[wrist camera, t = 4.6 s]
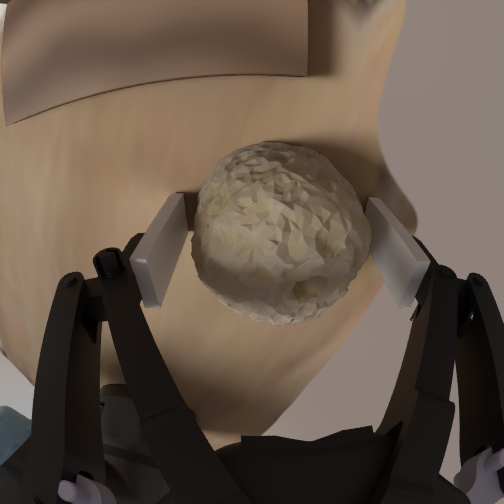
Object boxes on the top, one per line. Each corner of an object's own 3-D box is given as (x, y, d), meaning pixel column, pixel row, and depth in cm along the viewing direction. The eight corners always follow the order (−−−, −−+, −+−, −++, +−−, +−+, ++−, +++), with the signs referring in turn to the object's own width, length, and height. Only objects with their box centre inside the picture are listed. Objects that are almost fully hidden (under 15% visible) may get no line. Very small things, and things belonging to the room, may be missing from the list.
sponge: (336, 172, 19) (402, 109, 9) (336, 306, 19) (409, 350, 9) (207, 169, 19) (169, 94, 9) (204, 306, 19) (159, 356, 9)
